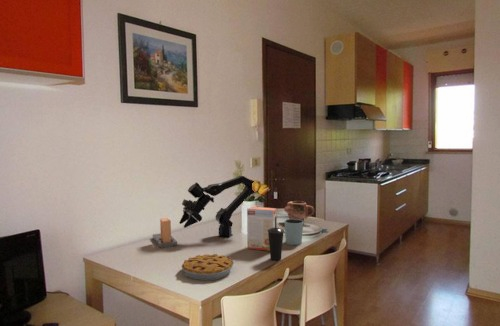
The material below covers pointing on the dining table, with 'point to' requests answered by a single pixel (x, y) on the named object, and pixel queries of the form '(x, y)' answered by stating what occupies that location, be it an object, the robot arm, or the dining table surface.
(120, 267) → the dining table surface
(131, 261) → the dining table surface
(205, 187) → the robot arm
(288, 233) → the blue gray cylindrical container
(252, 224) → the cracker box
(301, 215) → the brown teapot
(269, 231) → the drinking cup
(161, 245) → the gray slotted base
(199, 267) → the pie
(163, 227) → the clip
